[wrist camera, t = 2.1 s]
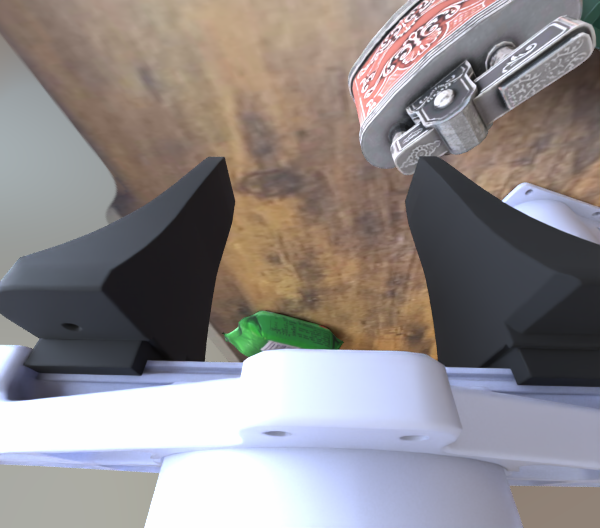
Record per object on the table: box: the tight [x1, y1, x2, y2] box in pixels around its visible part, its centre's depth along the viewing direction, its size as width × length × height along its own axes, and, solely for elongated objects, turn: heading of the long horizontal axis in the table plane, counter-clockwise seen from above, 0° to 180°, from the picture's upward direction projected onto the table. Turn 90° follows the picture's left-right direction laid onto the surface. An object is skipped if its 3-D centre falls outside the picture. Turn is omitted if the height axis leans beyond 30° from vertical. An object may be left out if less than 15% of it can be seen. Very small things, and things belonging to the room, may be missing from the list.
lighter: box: [348, 0, 596, 175], centre depth 13 cm, size 8×3×10 cm, turn 135°
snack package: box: [222, 311, 344, 357], centre depth 40 cm, size 7×16×5 cm, turn 62°
